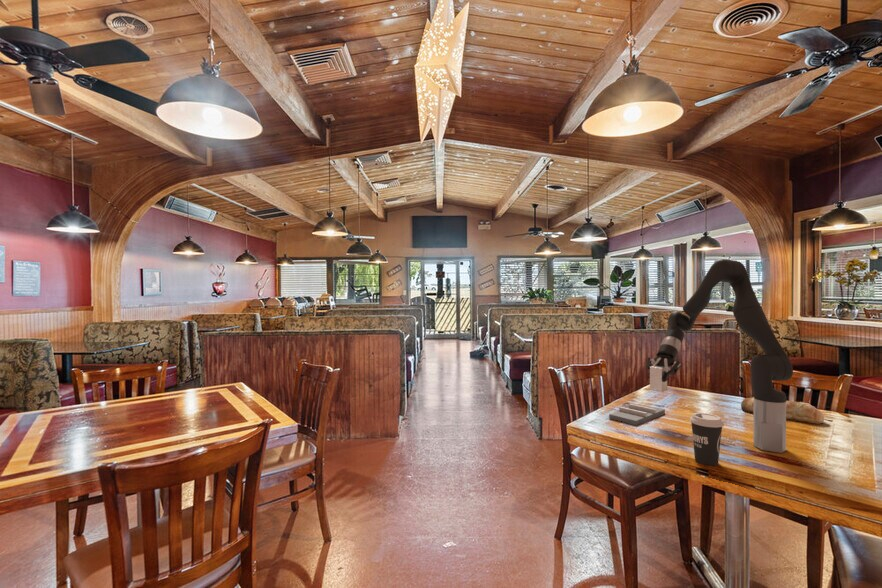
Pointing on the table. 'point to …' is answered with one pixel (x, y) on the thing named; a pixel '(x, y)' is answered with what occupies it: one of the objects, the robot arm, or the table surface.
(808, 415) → the bread loaf
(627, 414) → the plate
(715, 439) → the coffee cup
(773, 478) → the table surface
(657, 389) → the block
